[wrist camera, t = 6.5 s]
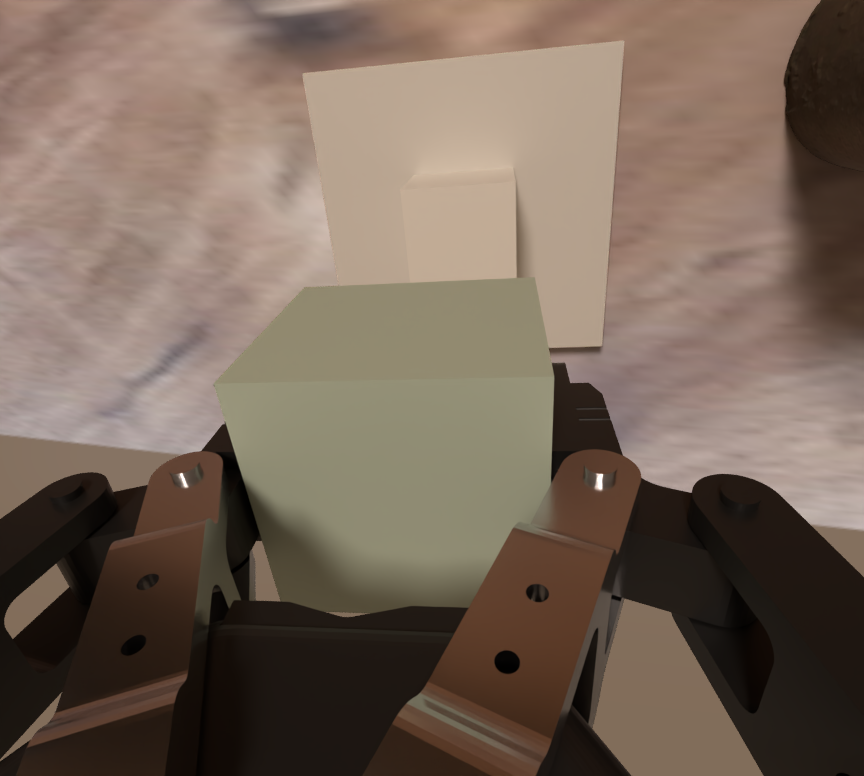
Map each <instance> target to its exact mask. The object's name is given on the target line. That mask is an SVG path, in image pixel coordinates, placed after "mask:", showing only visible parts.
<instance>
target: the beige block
mask: <svg viewBox="0 0 864 776" xmlns="http://www.w3.org/2000/svg"><path fill="white" fill-rule="evenodd" d="M400 193H401V202H402V211H403V221H404V230H405V240H406V249H407V259H408V268H409V278H410V283H415V282H438V281H461V280H483V279H506V278H517V267H516V180H515V175H514V169H513V168H502V169H488V170H475V171H461V172H448V173H434V174H421V175H413V177H412V178H411V179H410V180H409V181H408V182H407V183H406V184H405V185H404V186H403V187H402V188H401V190H400Z"/></svg>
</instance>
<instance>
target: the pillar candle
mask: <svg viewBox="0 0 864 776" xmlns="http://www.w3.org/2000/svg"><path fill="white" fill-rule="evenodd" d="M785 75H786V76H785V84H786V97H787V106H786V111H787V116H788V119H789V121H790V124H791V127H792V129H793V131H794V133H795V135H796V137H797V138H798V139H799V141H800V142H801V143H802V144H803V146H804V147H805V148H807V149H808V150H809V151H810V152H811V153H812V154H814V155H815V156H817V157H819V158H820V159H823V160H825V161H828V162H830V163H832V164H834V165H838V166H842V167H845V168H850V169H854V170H859V171H862V172H864V0H821V1H820V3H819V4H818V5H817V6H816V8H815V9H814V11H813V12H812V14H811V15H810V17H809V19H808V21H807V22H806V24H805V25H804V27H803V29H802V31H801V33H800V36H799V38H798V40H797V42H796V45H795V47H794V49H793V51H792V54H791V57H790V60H789V64H788V67H787V71H786V74H785Z"/></svg>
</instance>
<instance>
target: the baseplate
mask: <svg viewBox="0 0 864 776" xmlns="http://www.w3.org/2000/svg"><path fill="white" fill-rule="evenodd" d="M623 53H624V41H615V42H605V43H595V44H585V45H575V46H566V47H556V48H546V49H536V50H526V51H517V52H507V53H497V54H487V55H478V56H468V57H458V58H448V59H438V60H429V61H419V62H409V63H399V64H390V65H380V66H370V67H360V68H350V69H341V70H331V71H321V72H311V73H302V75H303V81H304V87H305V92H306V98H307V104H308V110H309V116H310V122H311V127H312V133H313V139H314V145H315V151H316V157H317V162H318V168H319V174H320V180H321V186H322V192H323V197H324V203H325V209H326V215H327V221H328V227H329V233H330V238H331V244H332V250H333V256H334V262H335V268H336V273H337V279H338V285H339V286H348V285H370V284H393V283H410V278H409V268H408V259H407V249H406V240H405V230H404V221H403V211H402V202H401V193H400V190H401V188H402V187H403V186H404V185H405V184H406V183H407V182H408V181H409V180H410V179H411V178H412V177H413V175H421V174H434V173H448V172H461V171H475V170H488V169H502V168H513V169H514V175H515V180H516V267H517V278H528V277H535V281H536V286H537V291H538V296H539V301H540V306H541V311H542V317H543V322H544V327H545V332H546V337H547V342H548V347H549V348H562V347H595V346H602V339H603V325H604V312H605V298H606V285H607V271H608V257H609V244H610V230H611V216H612V203H613V189H614V175H615V162H616V148H617V134H618V121H619V107H620V94H621V80H622V66H623Z"/></svg>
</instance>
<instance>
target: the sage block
mask: <svg viewBox="0 0 864 776" xmlns="http://www.w3.org/2000/svg"><path fill="white" fill-rule="evenodd" d="M214 387H215V390H216V393H217V397H218V400H219V403H220V406H221V409H222V413H223V416H224V419H225V422H226V426H227V429H228V432H229V435H230V439H231V442H232V445H233V448H234V452H235V455H236V458H237V461H238V465H239V468H240V471H241V474H242V477H243V481H244V484H245V487H246V490H247V494H248V497H249V500H250V503H251V507H252V510H253V513H254V516H255V520H256V523H257V526H258V529H259V533H260V536H261V539H262V542H263V545H264V549H265V552H266V555H267V558H268V562H269V565H270V568H271V571H272V575H273V578H274V581H275V584H276V588H277V591H278V594H279V597H280V600H281V602H292V603H295V604H299V605H302V606H306V607H309V608H313V609H316V610H319V611H323V612H348V613H376V612H381V611H387V610H392V609H397V608H403V607H408V606H431V607H462V608H469V606H470V604H471V603H472V601H473V599H474V597H475V595H476V594H477V592H478V590H479V588H480V586H481V585H482V583H483V581H484V579H485V577H486V575H487V574H488V572H489V570H490V568H491V566H492V565H493V563H494V561H495V559H496V557H497V556H498V554H499V552H500V550H501V548H502V547H503V545H504V543H505V541H506V539H507V537H508V536H509V534H510V532H511V530H512V529H513V527H514V526H515V525H516V524H517V523H518V522H523V523H526V524H529V525H530V523H531V522H532V520H533V518H534V516H535V514H536V512H537V510H538V508H539V506H540V504H541V502H542V500H543V498H544V496H545V495H546V493H547V491H548V489H549V487H550V485H551V461H552V431H553V401H554V373H553V367H552V362H551V357H550V352H549V347H548V342H547V337H546V332H545V327H544V322H543V317H542V311H541V306H540V301H539V296H538V291H537V286H536V281H535V277H528V278H506V279H483V280H461V281H438V282H415V283H393V284H370V285H348V286H325V287H305V288H304V289H303V290H302V291H301V292H300V293H299V294H298V295H297V296H296V297H295V298H294V299H293V300H292V301H291V302H290V303H289V304H288V306H287V307H286V308H285V309H284V310H283V311H282V312H281V313H280V314H279V315H278V316H277V317H276V318H275V319H274V320H273V321H272V322H271V323H270V325H269V326H268V327H267V328H266V329H265V330H264V331H263V332H262V333H261V334H260V335H259V336H258V337H257V338H256V339H255V340H254V341H253V343H252V344H251V345H250V346H249V347H248V348H247V349H246V350H245V351H244V352H243V353H242V354H241V355H240V356H239V357H238V358H237V359H236V360H235V362H234V363H233V364H232V365H231V366H230V367H229V368H228V369H227V370H226V371H225V372H224V373H223V374H222V375H221V376H220V377H219V378H218V380H217V381H216V382H215V383H214Z"/></svg>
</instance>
